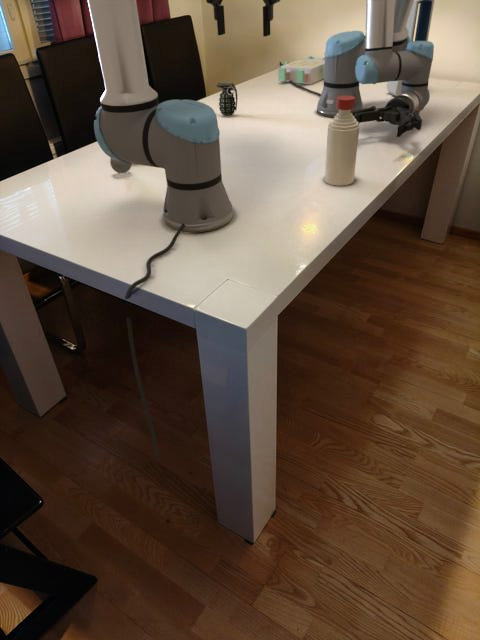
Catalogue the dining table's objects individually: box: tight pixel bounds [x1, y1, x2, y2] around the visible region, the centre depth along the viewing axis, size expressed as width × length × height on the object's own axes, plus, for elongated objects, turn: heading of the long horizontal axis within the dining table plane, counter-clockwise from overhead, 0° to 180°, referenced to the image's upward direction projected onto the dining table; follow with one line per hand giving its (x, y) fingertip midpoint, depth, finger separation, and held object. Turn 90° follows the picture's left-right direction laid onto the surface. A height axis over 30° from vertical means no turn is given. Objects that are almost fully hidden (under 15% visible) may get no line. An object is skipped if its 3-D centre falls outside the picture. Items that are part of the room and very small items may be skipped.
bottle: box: [324, 110, 360, 187], centre depth 114 cm, size 7×7×19 cm
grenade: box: [215, 82, 238, 117], centre depth 166 cm, size 7×6×10 cm
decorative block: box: [277, 55, 325, 85], centre depth 206 cm, size 26×6×20 cm
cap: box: [336, 96, 355, 110], centre depth 109 cm, size 4×4×2 cm
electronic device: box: [386, 0, 435, 97], centre depth 172 cm, size 12×8×30 cm, turn 105°
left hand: (243, 35), depth 129 cm, fingers open, 13 cm apart
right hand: (372, 128), depth 127 cm, fingers open, 13 cm apart
